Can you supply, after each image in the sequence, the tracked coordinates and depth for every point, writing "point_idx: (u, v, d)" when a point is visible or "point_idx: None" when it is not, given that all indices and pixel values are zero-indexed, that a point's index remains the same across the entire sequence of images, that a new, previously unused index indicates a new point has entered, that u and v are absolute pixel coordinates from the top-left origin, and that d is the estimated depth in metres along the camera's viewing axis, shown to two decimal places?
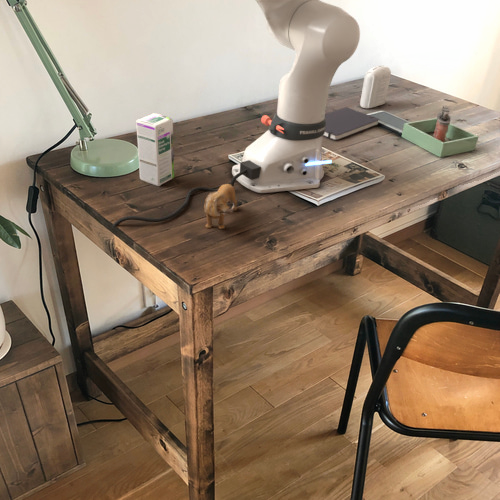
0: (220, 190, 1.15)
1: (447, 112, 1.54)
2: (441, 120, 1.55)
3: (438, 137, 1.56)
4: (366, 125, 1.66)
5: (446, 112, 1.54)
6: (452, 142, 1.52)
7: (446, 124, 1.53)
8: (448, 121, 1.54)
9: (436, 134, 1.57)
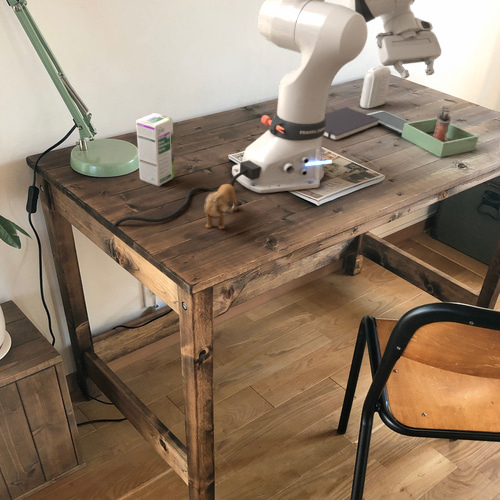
0: (220, 190, 1.15)
1: (447, 112, 1.54)
2: (441, 120, 1.55)
3: (438, 137, 1.56)
4: (366, 125, 1.66)
5: (446, 112, 1.54)
6: (452, 142, 1.52)
7: (446, 124, 1.53)
8: (448, 121, 1.54)
9: (436, 134, 1.57)
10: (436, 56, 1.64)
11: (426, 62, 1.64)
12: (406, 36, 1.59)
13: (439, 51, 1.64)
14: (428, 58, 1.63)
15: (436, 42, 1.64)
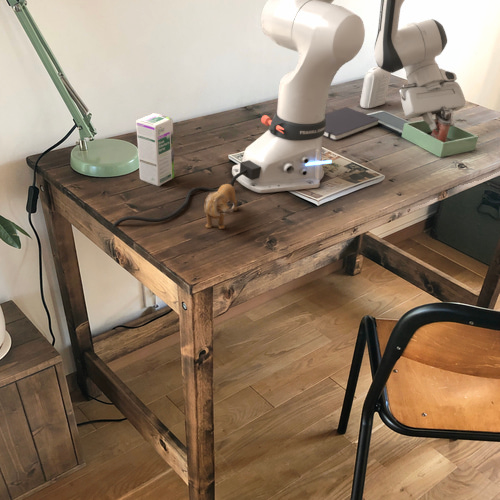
0: (220, 190, 1.15)
1: (449, 112, 1.54)
2: (443, 120, 1.54)
3: (441, 137, 1.56)
4: (366, 125, 1.66)
5: (447, 112, 1.54)
6: (452, 142, 1.52)
7: (449, 124, 1.53)
8: (450, 120, 1.54)
9: (438, 134, 1.57)
10: (460, 107, 1.61)
11: None
12: (430, 88, 1.56)
13: (463, 102, 1.60)
14: None
15: (460, 93, 1.60)
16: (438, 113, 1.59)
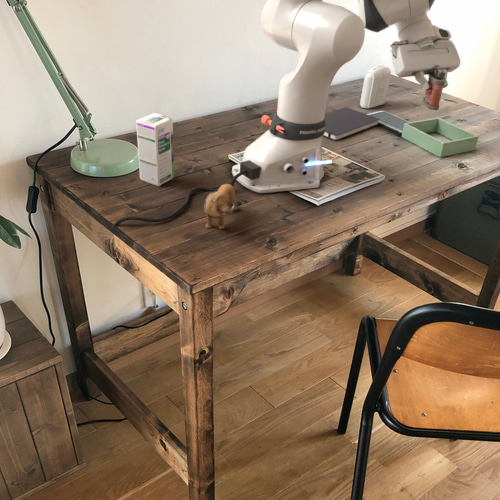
0: (220, 190, 1.15)
1: (442, 70, 1.44)
2: (436, 79, 1.45)
3: (434, 97, 1.46)
4: (366, 125, 1.66)
5: (441, 70, 1.44)
6: (452, 142, 1.52)
7: (442, 83, 1.44)
8: (443, 79, 1.45)
9: (431, 95, 1.47)
10: (455, 67, 1.51)
11: None
12: (423, 45, 1.46)
13: (458, 62, 1.51)
14: None
15: (455, 52, 1.51)
16: (431, 73, 1.49)
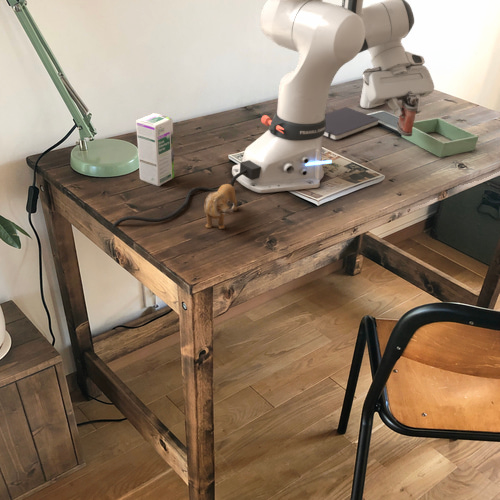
0: (220, 190, 1.15)
1: (415, 97, 1.44)
2: (408, 106, 1.45)
3: (407, 124, 1.47)
4: (366, 125, 1.66)
5: (413, 97, 1.45)
6: (452, 142, 1.52)
7: (415, 110, 1.44)
8: (416, 106, 1.45)
9: (404, 121, 1.48)
10: (429, 92, 1.52)
11: None
12: (396, 72, 1.47)
13: (432, 87, 1.51)
14: None
15: (428, 77, 1.51)
16: (405, 99, 1.50)
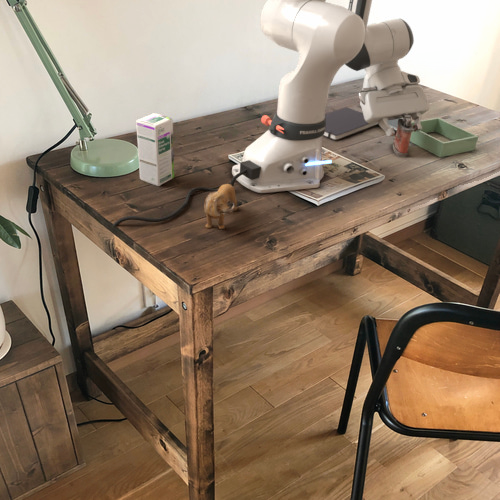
0: (220, 190, 1.15)
1: (410, 119, 1.48)
2: (404, 127, 1.48)
3: (402, 145, 1.50)
4: (366, 125, 1.66)
5: (409, 119, 1.48)
6: (452, 142, 1.52)
7: (410, 131, 1.47)
8: (411, 128, 1.48)
9: (399, 142, 1.51)
10: (424, 111, 1.54)
11: (413, 117, 1.54)
12: (391, 91, 1.49)
13: (427, 106, 1.54)
14: (415, 113, 1.53)
15: (424, 96, 1.54)
16: (400, 120, 1.53)
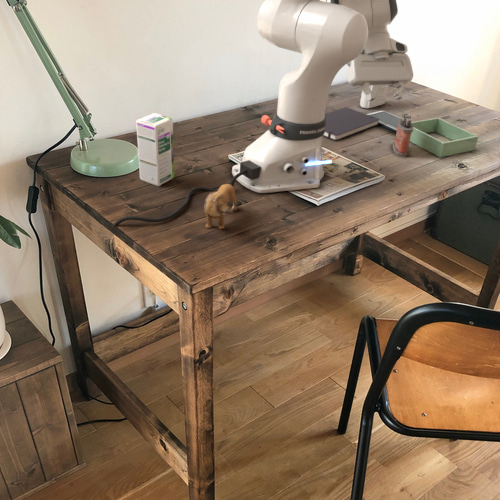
0: (220, 190, 1.15)
1: (410, 119, 1.48)
2: (404, 127, 1.48)
3: (402, 145, 1.50)
4: (366, 125, 1.66)
5: (409, 119, 1.48)
6: (452, 142, 1.52)
7: (410, 131, 1.47)
8: (411, 128, 1.48)
9: (399, 142, 1.51)
10: (407, 80, 1.59)
11: (396, 85, 1.59)
12: (377, 57, 1.53)
13: (411, 76, 1.58)
14: (398, 82, 1.58)
15: (409, 66, 1.58)
16: (400, 120, 1.53)
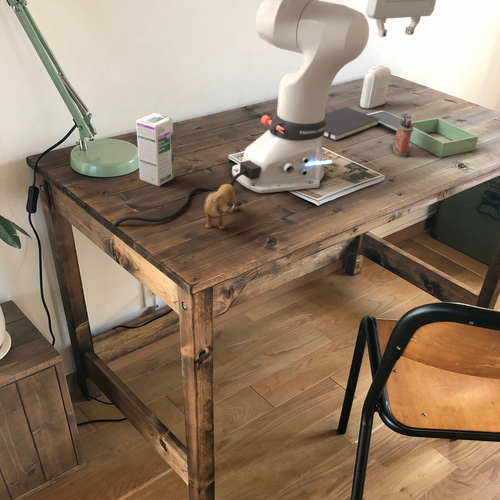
0: (220, 190, 1.15)
1: (410, 119, 1.48)
2: (404, 127, 1.48)
3: (402, 145, 1.50)
4: (366, 125, 1.66)
5: (409, 119, 1.48)
6: (452, 142, 1.52)
7: (410, 131, 1.47)
8: (411, 128, 1.48)
9: (399, 142, 1.51)
10: (425, 15, 1.49)
11: (412, 18, 1.50)
12: None
13: (430, 12, 1.49)
14: (416, 16, 1.48)
15: (433, 1, 1.47)
16: (400, 120, 1.53)
